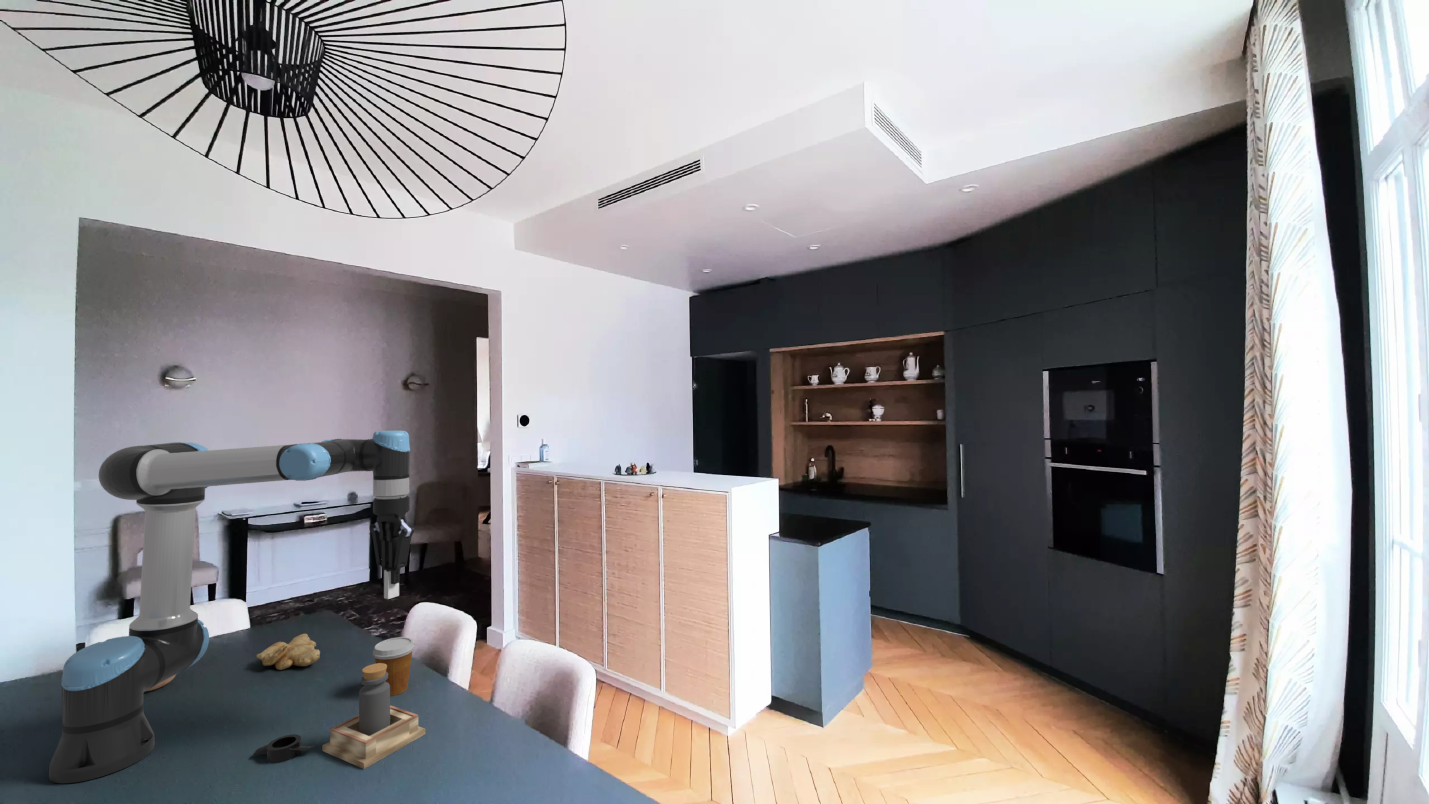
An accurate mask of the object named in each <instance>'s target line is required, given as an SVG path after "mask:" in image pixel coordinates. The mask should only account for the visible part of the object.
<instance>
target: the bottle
mask: <svg viewBox="0 0 1429 804" xmlns="http://www.w3.org/2000/svg"><path fill="white" fill-rule="evenodd" d="M386 669H387V665H386V664H384V663H377V664H376V663H372V664H369V665H366V666H365V667H363V668H362V670H361V672H362V677H361V679H360V684H361V685H363V686H362V687H361V688H360V690H359V691H358V693H359V694H358V699H359V700H358V705H359V706H358V715H359V732H360V733H362V734H365V735H367V736H371V735H373V734H375V733H376V732H378V731H380V730H382V729H384V728H386V727H388V726H390V705H391V696H390V684H389V683H387V682H385V681H386V680H387V679H388V673H387V672H386Z"/></svg>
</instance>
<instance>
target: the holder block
mask: <svg viewBox="0 0 1429 804" xmlns="http://www.w3.org/2000/svg"><path fill="white" fill-rule="evenodd" d="M425 735H426V728H424V727H421V726H419V714H417V713H414V712H410V711H408V710H405V709H402V708H400V707H396V706H394V705H391V704H390V726H388V727H386V728H384V729H382V730H380V731H378V732H376V733H375V734H373V735H371V736H367V735H365V734H362V733H360V732H359V714H357V715H355V716H353V717H351V718H349V719H347V720H345V721H342V722H341V723H338V724H336V725H334V726H333V727H330V728H329V741H328V742H327V743H325V744H322V746H321V747H322V750H321V751H322V752H324V753H326V754H329V755H330V756H333V757H335V758H336V759H337V758H338V759H340V760H341V761H344V762H347V763H349V764H351V765H353V766H355V767H358V768H361V769H362V770H365V769H367V768H368V767H370V766H372V765H374V764H376V763H378V762H379V761H380V760H383V759H384V758H386V757H388V756H390V755H391V754H393V753H395V752H396V751H399V750H400V749H402V748H404V747H406V746H407V745H409V744H411V743H413V742H414V741H416V740H418V739H420V738H422V737H423V736H425Z"/></svg>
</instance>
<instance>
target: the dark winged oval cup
mask: <svg viewBox="0 0 1429 804" xmlns="http://www.w3.org/2000/svg"><path fill="white" fill-rule="evenodd" d="M314 747H315V745H302V736H301V735H299V734H295V733H293V734H286V735H281V736H279V737H277V738H274V739H273V740H271V741H270V742H268V743H267V744H266V745H263V746H260V747H259V748H257V749H256V750H255V751H254V752H253V754H252V755H253V756H257V755H266V762H267V763H269V764H280V763H283V762H287V761H290V760H292V759H294V758H296V757H297V756H299V755H300V754H301V752H302V751H305V750H306V751H307V750H311V749H313V748H314Z"/></svg>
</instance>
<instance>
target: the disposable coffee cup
mask: <svg viewBox="0 0 1429 804" xmlns="http://www.w3.org/2000/svg"><path fill="white" fill-rule="evenodd" d="M414 649H415V643H414V641H413V639H412V638H410V637H406V636H404V637H403V636H398V637H391V638H387V639H384V640H382V641H379V642H378V643H377V644H375V646H374V649H373V650H372V656H373V657H374V661H375V663H374V664H377V663H384V664H386V665H387V669H386V672H387V673H388V679H387V680H386V681H385V682H387V683H389V684H390V697H394V696H398V695H400V694H402V693H404V692H406V691H407V690H408V686H409V678H410V672H411V666H412V665H411V664H412V659H413V658H412V656H413V651H414Z"/></svg>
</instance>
